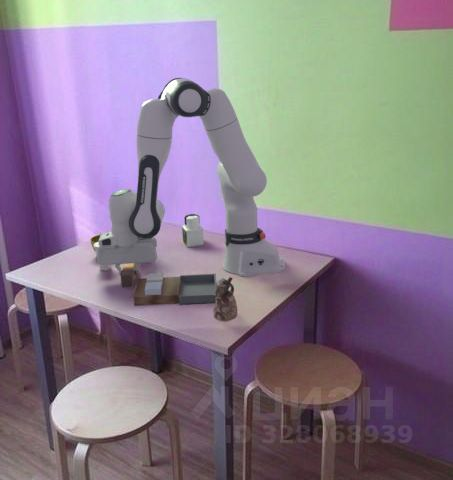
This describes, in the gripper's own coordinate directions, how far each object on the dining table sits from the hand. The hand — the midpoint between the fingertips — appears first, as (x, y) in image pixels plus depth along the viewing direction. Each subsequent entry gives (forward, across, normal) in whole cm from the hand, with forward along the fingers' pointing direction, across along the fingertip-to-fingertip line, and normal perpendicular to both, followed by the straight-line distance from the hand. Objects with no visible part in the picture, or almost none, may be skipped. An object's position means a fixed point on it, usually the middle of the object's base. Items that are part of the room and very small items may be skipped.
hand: (129, 274), depth 182 cm
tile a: (-1, -10, +10) cm, 15 cm away
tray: (+2, -24, +14) cm, 28 cm away
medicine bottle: (+2, -22, -32) cm, 39 cm away
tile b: (-1, -10, +18) cm, 20 cm away
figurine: (+2, -32, +30) cm, 44 cm away
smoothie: (+2, +10, -10) cm, 14 cm away
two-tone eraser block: (+2, 0, 0) cm, 2 cm away
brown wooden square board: (+2, -11, +14) cm, 18 cm away
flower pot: (+2, +12, -23) cm, 26 cm away
